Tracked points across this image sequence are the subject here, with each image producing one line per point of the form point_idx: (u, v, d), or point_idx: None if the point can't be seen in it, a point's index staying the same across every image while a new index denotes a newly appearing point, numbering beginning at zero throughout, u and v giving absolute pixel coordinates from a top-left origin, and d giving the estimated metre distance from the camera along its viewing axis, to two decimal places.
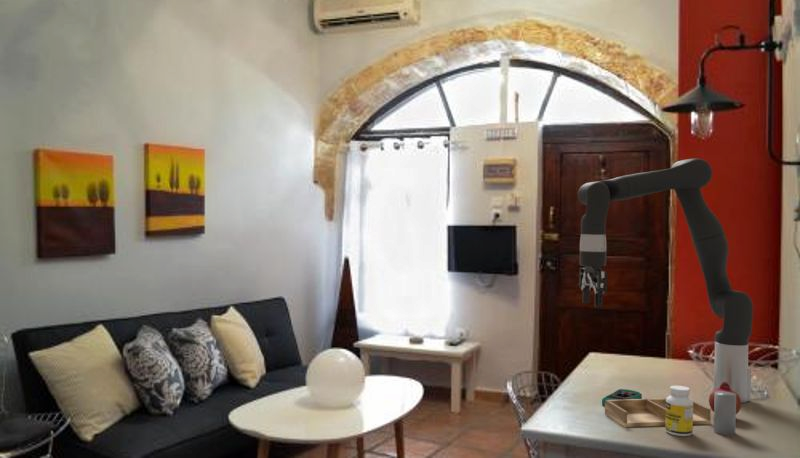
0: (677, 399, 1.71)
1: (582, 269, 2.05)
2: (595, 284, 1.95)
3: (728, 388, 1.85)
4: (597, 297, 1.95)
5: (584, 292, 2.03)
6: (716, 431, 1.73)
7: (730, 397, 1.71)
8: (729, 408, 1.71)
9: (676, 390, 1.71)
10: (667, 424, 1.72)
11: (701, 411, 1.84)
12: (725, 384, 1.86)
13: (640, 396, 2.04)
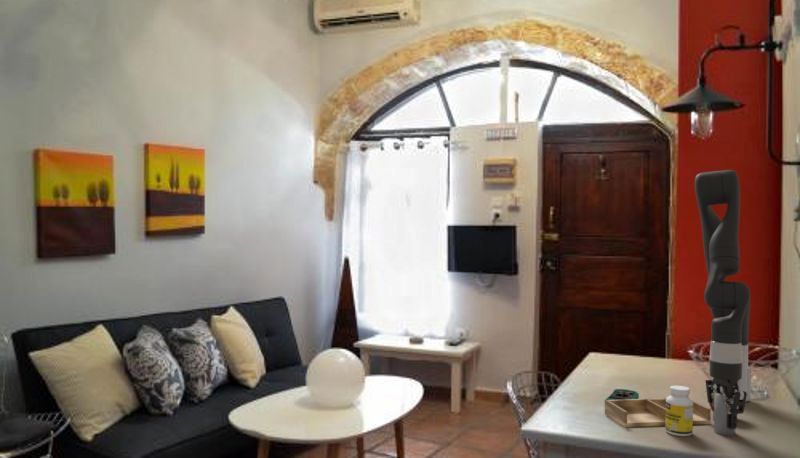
0: (677, 399, 1.71)
1: (709, 381, 1.79)
2: (729, 403, 1.70)
3: None
4: (730, 418, 1.70)
5: None
6: (716, 431, 1.73)
7: None
8: None
9: (676, 390, 1.71)
10: (667, 424, 1.72)
11: (701, 411, 1.84)
12: None
13: (637, 395, 2.04)
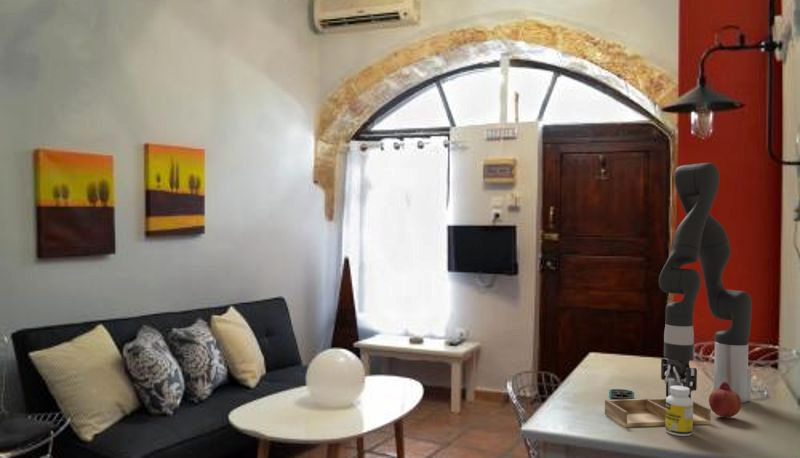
0: (677, 399, 1.71)
1: (664, 360, 1.91)
2: (683, 381, 1.81)
3: (728, 388, 1.85)
4: None
5: None
6: None
7: None
8: None
9: (676, 390, 1.71)
10: (667, 424, 1.72)
11: (701, 411, 1.84)
12: (725, 384, 1.86)
13: None
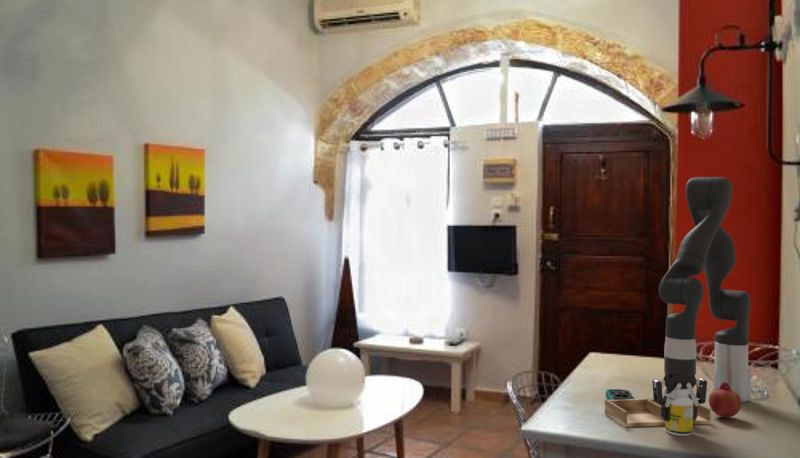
0: (677, 399, 1.71)
1: None
2: (664, 394, 1.73)
3: (728, 388, 1.85)
4: None
5: None
6: None
7: None
8: None
9: None
10: (667, 424, 1.72)
11: (701, 411, 1.84)
12: (725, 384, 1.86)
13: None
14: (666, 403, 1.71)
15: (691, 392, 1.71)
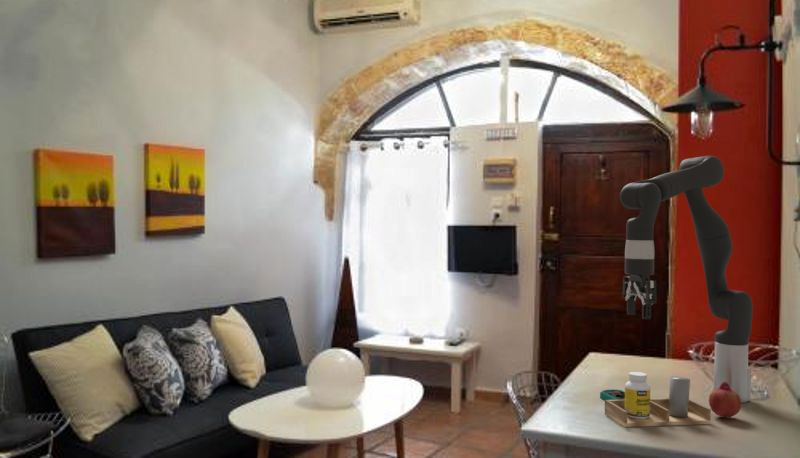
0: (647, 384, 1.82)
1: (626, 278, 1.89)
2: (643, 294, 1.79)
3: (728, 388, 1.85)
4: (645, 308, 1.78)
5: (629, 303, 1.87)
6: (672, 414, 1.84)
7: (687, 381, 1.83)
8: (686, 392, 1.83)
9: (646, 376, 1.82)
10: (643, 411, 1.81)
11: (701, 411, 1.84)
12: (725, 384, 1.86)
13: None
14: None
15: None
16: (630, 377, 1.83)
